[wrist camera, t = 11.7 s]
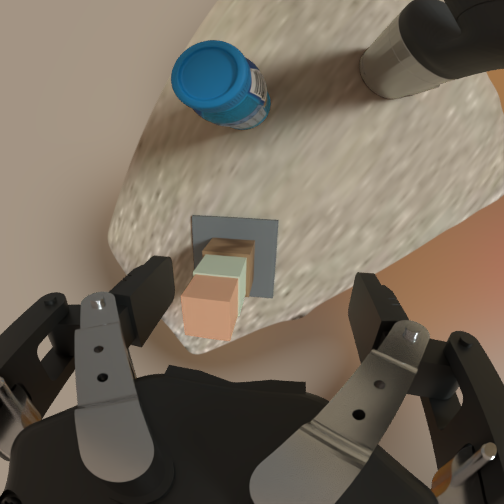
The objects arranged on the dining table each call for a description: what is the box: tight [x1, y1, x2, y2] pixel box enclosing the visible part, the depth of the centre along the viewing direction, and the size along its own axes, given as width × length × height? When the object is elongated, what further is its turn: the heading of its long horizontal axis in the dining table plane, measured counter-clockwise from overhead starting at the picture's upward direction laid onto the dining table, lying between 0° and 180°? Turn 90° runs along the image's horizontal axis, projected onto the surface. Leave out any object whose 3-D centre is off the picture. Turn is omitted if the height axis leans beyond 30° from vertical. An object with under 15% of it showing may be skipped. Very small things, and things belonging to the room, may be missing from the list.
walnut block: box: [202, 238, 255, 297], centre depth 44 cm, size 7×7×6 cm
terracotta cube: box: [181, 274, 238, 341], centre depth 33 cm, size 6×6×6 cm
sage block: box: [193, 254, 247, 317], centre depth 38 cm, size 6×6×6 cm
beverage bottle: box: [171, 40, 271, 130], centre depth 28 cm, size 8×8×20 cm
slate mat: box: [192, 215, 278, 298], centre depth 47 cm, size 14×14×1 cm
